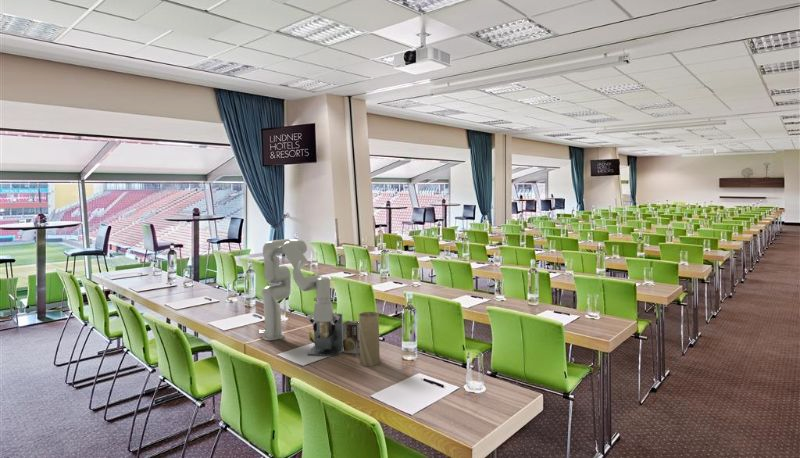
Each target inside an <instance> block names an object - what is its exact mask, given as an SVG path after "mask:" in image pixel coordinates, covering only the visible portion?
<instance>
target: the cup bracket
mask: <svg viewBox="0 0 800 458" xmlns="http://www.w3.org/2000/svg"><path fill="white" fill-rule="evenodd" d="M335 314H336V315H338V316H340V318H339V320H338V321H337V323H336V324H335V330H334V332H332V323H331V322H329V338H320V322H316V323H317V331H316V332H314V331H313V334H314V341H313V343H314V346H313V347H311V349H310V350H309V352H308V353H307V354H306V355H307V356H308V357H309V356H310V357H338V355H339V353H341V351H342V350H343V328H342V324H343V323H344V322H343V321H344V320H343V313H335ZM333 320H334V321H335V320H336V317H334V318H333Z"/></svg>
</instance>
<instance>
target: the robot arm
mask: <svg viewBox="0 0 800 458" xmlns="http://www.w3.org/2000/svg"><path fill="white" fill-rule="evenodd" d="M307 250H308V246H307V244H306V242H305V241H304V240H303V239H295V238H294V239H293V238H284V239H283V238H282V239H275V240H269V241H267V242H265V243H264V245H263V246H262V256H263V260H264V261H263V263H264V269H263V270H264V281H265V283H267V284H269V285H266V286H265V287H264V288H263V289H262V291H261V298H262V301H263V313H264V315H263V317H264V330H262V329H259V330H258V334H259V335H262V339H263V340H265V341H278V340H281V339H283V338H285V333H283V332H282V314H281V305H280V304H279V303H278V301H280V300H284V299H287V298H289V297H290V295H291V289H292V288H291V283H292V281H291V280H292V279H293V280H294V283H295V284H296V286H297V287H298V288H299V289H300V290H301V291H303V292H309V291H313V290H316V291H315V294H316V295H315V298H313V301H314V309H313V313H311V314H310V315H308V316H307V317H308V319H309V322H310V323H311V324H312V327H313V328H312V330H313V333H314V332H316V331H317V323H316V322H331V323H332V332H334V330H335V324H336V323H337V321H338V320H339V318H340V316H338V315H336V314H337V313H334V307H333V303H332V301H331V279H330V278H329V277H326V276H322V275H319V274H315V275H314V274H313V275H310V276H305V275H304V274H303V273H302V270H301V269H303V268H304V267H305V266H306V265H307V263H308V259H307V257H306V256H305V254H306V252H307ZM278 255H285V257H286V259H287V260H288V262H289V263H290V264H291V265H292V267H293V269H292V276H293V277H292V276H291V271H290V268H288V266H286V265H280V259H279V257H278ZM291 277H292V279H291ZM277 283H278V284H277ZM270 284H271V285H270ZM334 317H336V320H335V321H334V320H333V318H334Z"/></svg>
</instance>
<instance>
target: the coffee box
mask: <svg viewBox="0 0 800 458" xmlns="http://www.w3.org/2000/svg"><path fill="white" fill-rule="evenodd" d="M358 322H359V320H358V321H355V320H346V321H345V322H343V324H342V328H343V348H342V351H343V353H344V354H345V353H346V354H355V355H360V340H359V323H358Z"/></svg>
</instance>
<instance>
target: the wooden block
mask: <svg viewBox="0 0 800 458" xmlns="http://www.w3.org/2000/svg"><path fill="white" fill-rule="evenodd" d="M320 338H329V322H320Z"/></svg>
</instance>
